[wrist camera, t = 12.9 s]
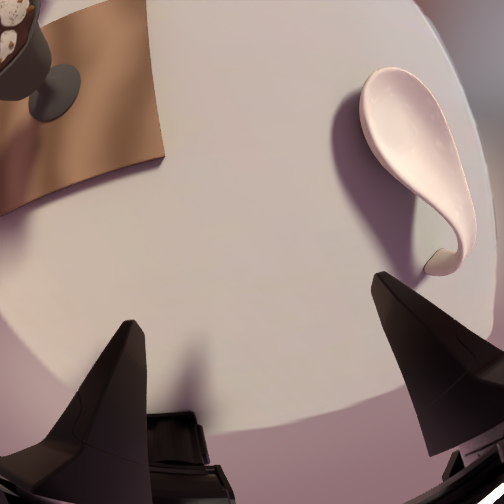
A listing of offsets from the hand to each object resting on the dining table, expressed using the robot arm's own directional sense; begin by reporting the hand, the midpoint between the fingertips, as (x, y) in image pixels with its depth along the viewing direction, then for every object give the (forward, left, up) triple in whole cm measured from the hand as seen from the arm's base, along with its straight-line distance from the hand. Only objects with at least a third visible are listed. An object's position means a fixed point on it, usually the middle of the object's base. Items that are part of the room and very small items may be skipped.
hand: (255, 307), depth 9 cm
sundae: (-13, +13, -11) cm, 21 cm away
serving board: (-13, +13, -12) cm, 22 cm away
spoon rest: (+21, +5, -13) cm, 25 cm away
